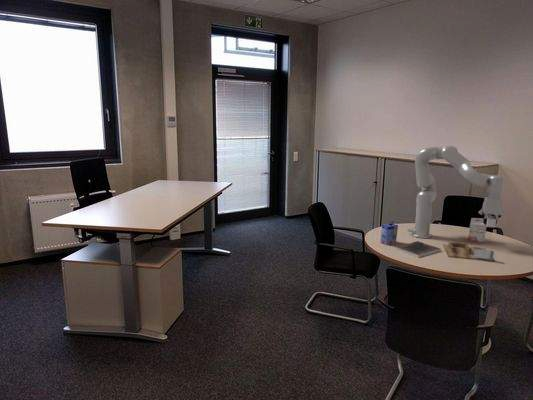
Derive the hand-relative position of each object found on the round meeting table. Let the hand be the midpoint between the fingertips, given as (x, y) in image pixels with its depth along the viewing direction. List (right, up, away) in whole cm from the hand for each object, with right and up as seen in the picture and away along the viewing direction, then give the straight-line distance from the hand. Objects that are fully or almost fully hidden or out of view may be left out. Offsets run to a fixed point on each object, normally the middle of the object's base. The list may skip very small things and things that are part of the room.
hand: (489, 224), depth 241 cm
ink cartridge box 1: (-59, -13, +11) cm, 61 cm away
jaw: (0, -1, 0) cm, 1 cm away
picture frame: (-45, -17, -2) cm, 48 cm away
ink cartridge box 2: (+1, -12, +18) cm, 21 cm away
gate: (-14, -18, -18) cm, 30 cm away
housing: (-18, -17, -7) cm, 25 cm away
